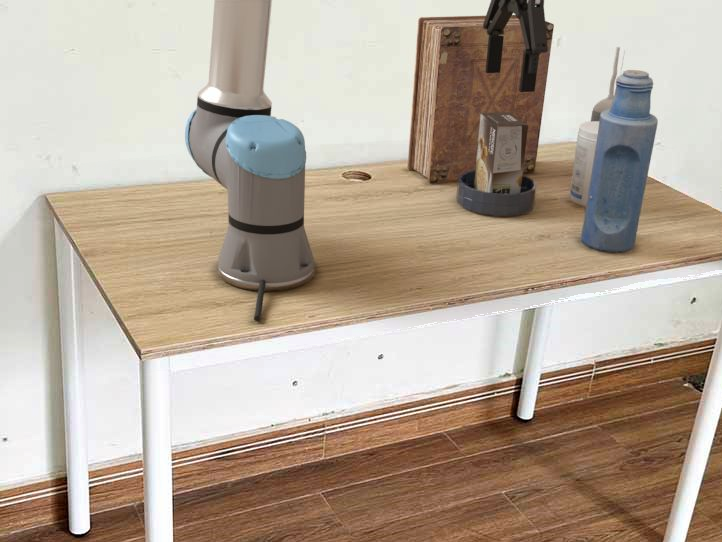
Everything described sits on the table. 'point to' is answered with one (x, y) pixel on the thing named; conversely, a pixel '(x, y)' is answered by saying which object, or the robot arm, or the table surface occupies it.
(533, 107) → the book
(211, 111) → the robot arm
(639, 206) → the bottle
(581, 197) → the supplement tub
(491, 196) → the bowl
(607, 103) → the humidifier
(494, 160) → the coffee box
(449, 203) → the table surface
